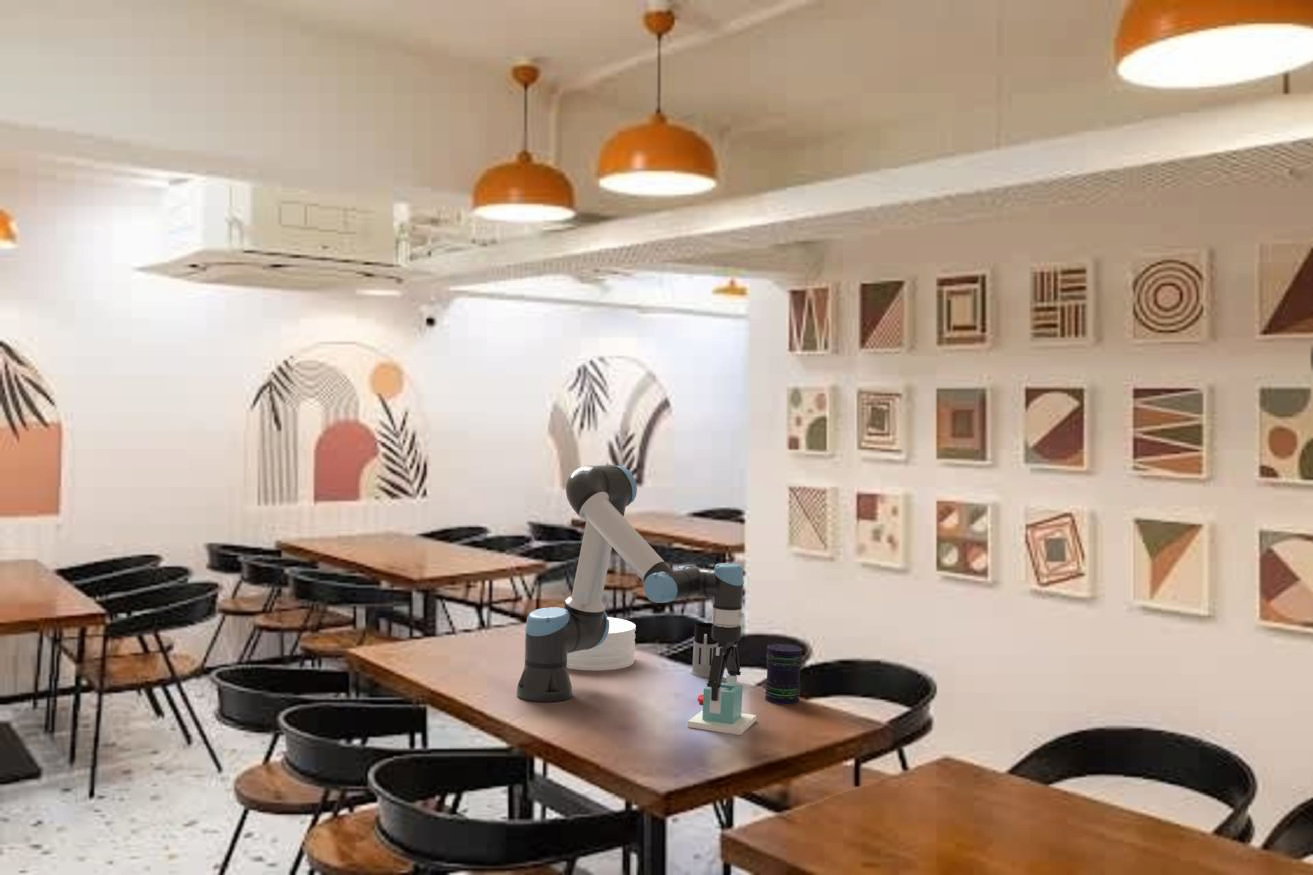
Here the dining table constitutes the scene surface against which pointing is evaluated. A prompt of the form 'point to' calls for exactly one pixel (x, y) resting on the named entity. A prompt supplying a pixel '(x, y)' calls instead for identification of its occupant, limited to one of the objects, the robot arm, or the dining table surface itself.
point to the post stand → (734, 728)
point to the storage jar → (783, 674)
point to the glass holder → (703, 649)
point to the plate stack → (608, 649)
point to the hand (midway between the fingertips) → (722, 706)
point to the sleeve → (724, 704)
